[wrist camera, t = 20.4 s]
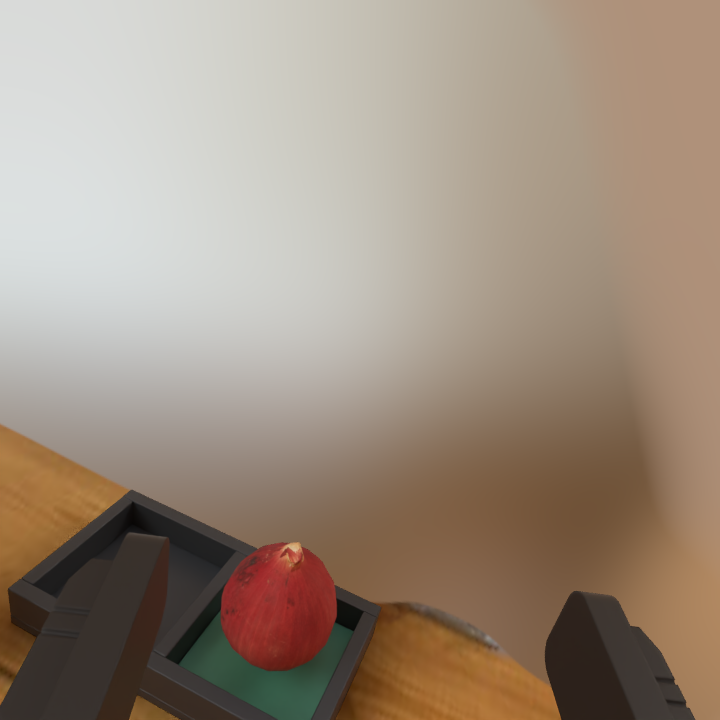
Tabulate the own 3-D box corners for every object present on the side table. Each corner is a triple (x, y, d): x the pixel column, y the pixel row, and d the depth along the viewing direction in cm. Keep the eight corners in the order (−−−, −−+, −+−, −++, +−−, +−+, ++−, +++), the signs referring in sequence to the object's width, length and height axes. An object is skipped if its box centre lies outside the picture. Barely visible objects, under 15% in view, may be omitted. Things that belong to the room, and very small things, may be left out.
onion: (194, 681, 29) (206, 568, 26) (242, 593, 35) (258, 489, 31) (304, 723, 29) (332, 612, 25) (336, 627, 34) (363, 523, 30)
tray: (130, 519, 39) (131, 489, 38) (372, 636, 35) (381, 606, 33) (11, 622, 31) (7, 588, 30) (303, 790, 27) (312, 758, 26)
